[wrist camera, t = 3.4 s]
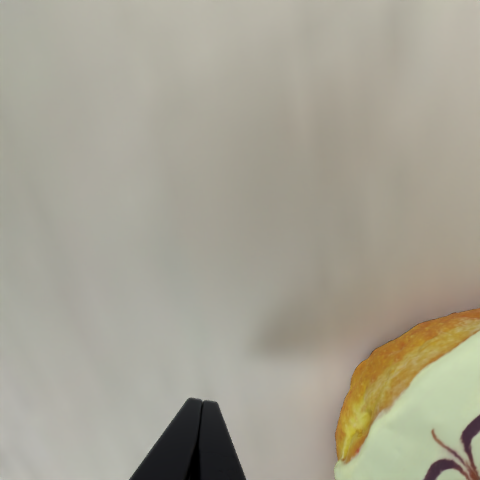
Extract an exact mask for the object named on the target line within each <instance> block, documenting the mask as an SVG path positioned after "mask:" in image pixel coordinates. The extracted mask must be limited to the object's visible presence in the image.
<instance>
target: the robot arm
mask: <svg viewBox="0 0 480 480" xmlns="http://www.w3.org/2000/svg"><path fill="white" fill-rule="evenodd" d="M129 480H246V477H245V475H244V472H243V469H242V467H241V464H240V461H239V459H238V456H237V453H236V451H235V448H234V445H233V443H232V440H231V437H230V435H229V432H228V429H227V427H226V424H225V421H224V419H223V416H222V413H221V411H220V408H219V405H218V403H217V402H215V401H209V400H204V401H203V403H202V400H201V399H196V398H188V399H187V401H186V402H185V403H184V405H183V406H182V408H181V409H180V410H179V412H178V413H177V414H176V416H175V417H174V419H173V420H172V421H171V423H170V424H169V426H168V427H167V428H166V430H165V431H164V432H163V434H162V435H161V437H160V438H159V439H158V441H157V442H156V443H155V445H154V446H153V448H152V449H151V450H150V452H149V453H148V455H147V456H146V457H145V459H144V460H143V461H142V463H141V464H140V466H139V467H138V468H137V470H136V471H135V472H134V474H133V475H132V477H131V478H130V479H129Z"/></svg>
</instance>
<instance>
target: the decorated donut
mask: <svg viewBox="0 0 480 480" xmlns="http://www.w3.org/2000/svg"><path fill="white" fill-rule="evenodd" d="M335 439H336V450H337V457H338V462H337V463H336V465H335V468H334V475H335V480H480V308H479V309H472V310H469V311H464V312H459V313H456V312H455V313H452V314H450V315H448V316H446V317H441V318H438V319H433V320H429V321H426V322H423V323H420V324H418V325H416V326H415V327H413V328H412V329H410V330H409V331H408V332H406V333H404V334H403V335H402V336H400V337H399V338H397V339H395V340H393V341H389V342H388V343H387V344H384V345H382V346H381V347H379V348H377V349H375V350H374V351H373V352H372V353H371V355H370V357H369V358H368V359H367V360H364V361H362V362H361V363H360V364H359V365H358V366H357V367H356V369H355V371H354V373H353V375H352V378H351V384H350V391H349V392H348V394H347V396H346V397H345V400H344V403H343V406H342V409H341V412H340V417H339V420H338V425H337V429H336V432H335Z"/></svg>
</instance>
